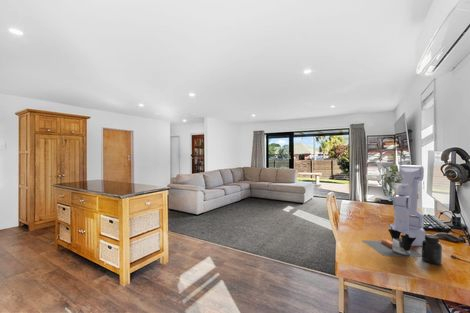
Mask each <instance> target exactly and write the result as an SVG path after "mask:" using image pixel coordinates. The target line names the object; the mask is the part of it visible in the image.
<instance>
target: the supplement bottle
mask: <svg viewBox="0 0 470 313" xmlns="http://www.w3.org/2000/svg"><path fill="white" fill-rule="evenodd" d="M442 253H443V246H442V244H441V243H440V237H439V236H437V235H434V234H426V235H425V240H424V241H422V246H421V255H422V257H421V261H423V262H424V263H426V264H429V265H434V266H441V265H442V262H443V259H442V258H443V254H442Z"/></svg>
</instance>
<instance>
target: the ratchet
mask: <svg viewBox="0 0 470 313" xmlns="http://www.w3.org/2000/svg"><path fill="white" fill-rule="evenodd" d="M380 241H381V243H383V244H384V245H386V246H388V247H389V248H391V249H392V251H393V252H394V253H395V254H398V255H402V256H401V257H403V256H410V250H409V251H399V250H397V249H395V248H394V247H393V242H391V241H392V240H390V239H387V238H381V239H380Z"/></svg>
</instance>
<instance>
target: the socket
mask: <svg viewBox="0 0 470 313" xmlns="http://www.w3.org/2000/svg"><path fill="white" fill-rule="evenodd" d="M392 241H393V247H394V248H395V249H397V250H399V251H405V250H404V246H403V240H402V237H399V238H393V240H392Z"/></svg>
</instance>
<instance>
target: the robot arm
mask: <svg viewBox="0 0 470 313" xmlns="http://www.w3.org/2000/svg"><path fill="white" fill-rule="evenodd" d="M424 169H425V168H424V166H423V165H421V164H420V165H416V164H415V165H411V164H408V165H407V164H401V165H400V167H399V175H400V176H401V178H402V180H401V182H402V183H401V184H399V185H398V187H397V191H396V194H395V195H393V198H392V205H393V210H394V212H393V213H394V215H393V216H394V221H393V222H394V224H391V223H390V224H389V229H388V230H387V231H388V232H389V235H390V237H391V241H393V238H402V240H403V246H404V250H405V251H409V250H410V249H412V248H411V247H412V246H413V247H414V246H416V247H418V246H419V247H422V241H424V240H425V235H427V233H426V231H425V229H424V225H425V220H424V215H423V213H421V212H420V211H419V210H418V197H419V196H418V195H419V193H418V192H419V183H420V182H421V181H424V178H425V177H424V175H425V174H424V172H425V170H424Z"/></svg>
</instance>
